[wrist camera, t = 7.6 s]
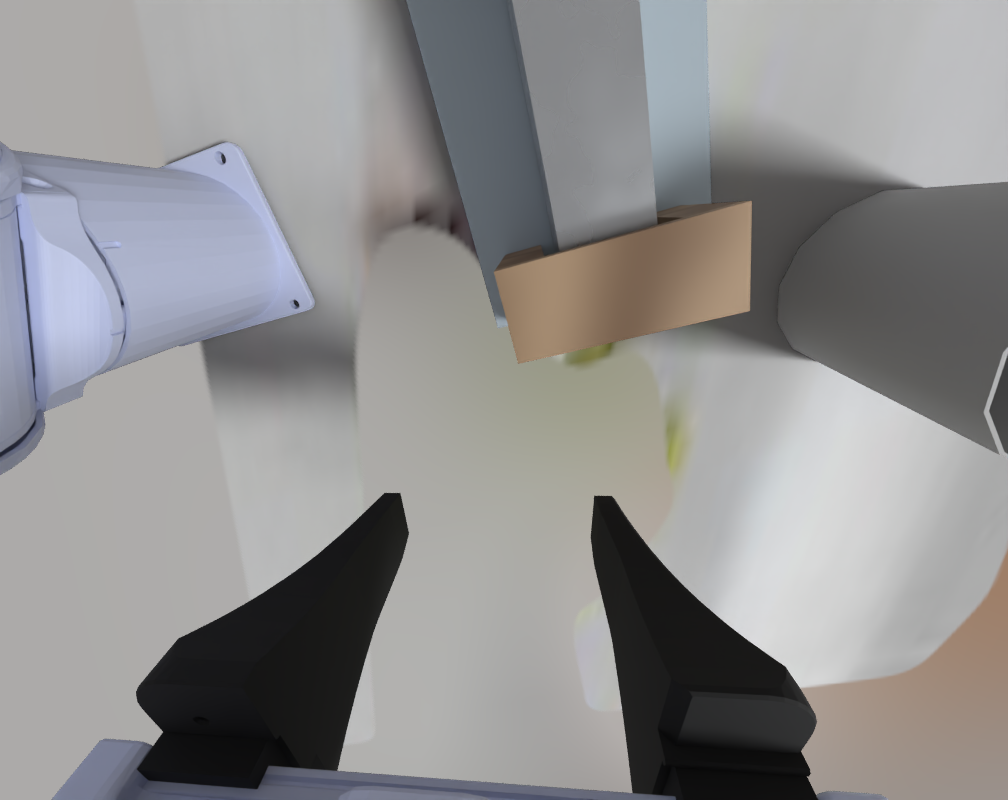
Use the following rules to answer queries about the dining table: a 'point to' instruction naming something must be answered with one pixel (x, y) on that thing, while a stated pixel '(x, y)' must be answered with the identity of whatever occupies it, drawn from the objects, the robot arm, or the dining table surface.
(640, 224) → the bar
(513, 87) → the board
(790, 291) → the cup
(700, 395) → the dining table surface
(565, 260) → the socket
